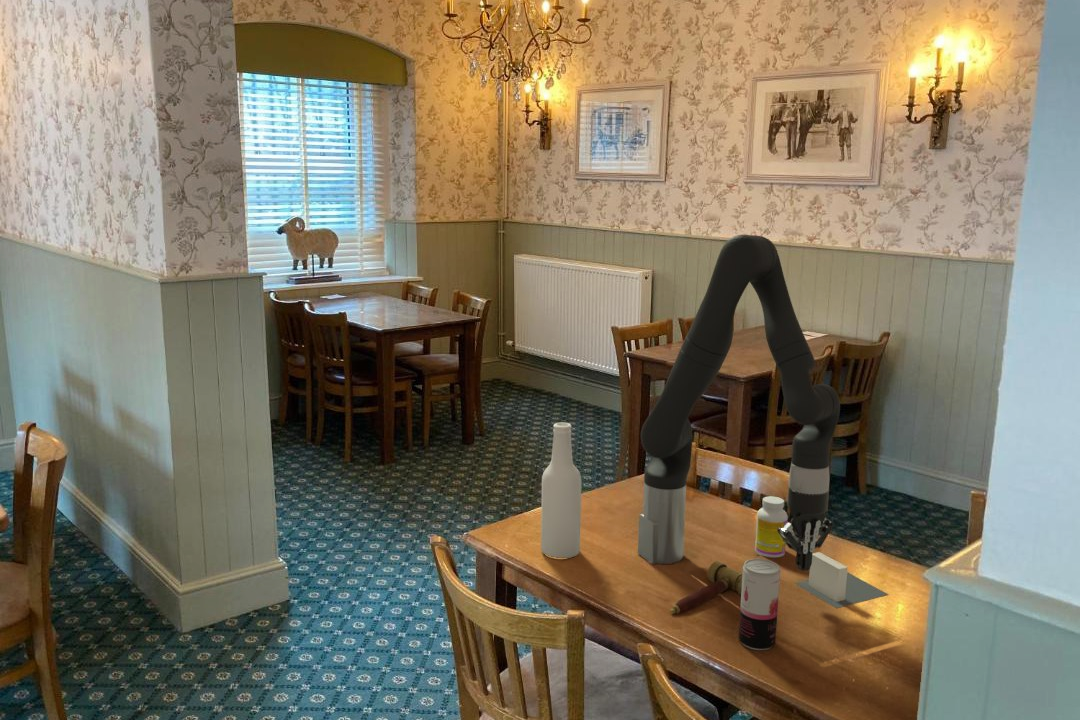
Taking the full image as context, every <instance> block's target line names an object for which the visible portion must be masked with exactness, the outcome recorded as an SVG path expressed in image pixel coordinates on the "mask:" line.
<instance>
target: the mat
mask: <svg viewBox="0 0 1080 720" xmlns="http://www.w3.org/2000/svg"><path fill="white" fill-rule="evenodd" d="M794 584H795V585H797V586H798V587H800V588H802V590H805V591H806V592H809V593H810V594H811V595H814V596H815V597H816V598H818V599H820V600H822V601H823V602H825V603H826V604H829V605H830V606H832V607H834V608H835V609H839V608H840V609H841V608H844V607H846V606H851V605H855V604H858V603H862V602H866V601H871V600H874V599H878V598H881V597H885V596H889V595H890V594H889V593H887V592H885V591H883V590H881V589H880V588H877V586H874V585H872V584H871V583H868V582H866V581H865V580H863V579H861V578H859V577H858V576H855V575H853V574H851V573H850V572H848V571H847V580H846V591H845V600H842V601H838V602H836V601H834V600H832V599H831V598H829V597H827V596H826V595H824V594H822V593H820V592H819V591H817V590H815V589H814V588H812V587H810V586H809V585H808V584H809V579H807V580H802V581H799V582H798V581H797V582H795V583H794Z"/></svg>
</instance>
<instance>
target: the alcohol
mask: <svg viewBox="0 0 1080 720" xmlns="http://www.w3.org/2000/svg"><path fill="white" fill-rule="evenodd" d="M552 431H553V432H552V433H553V437H552V449H551V460H550V463H549V465H548V466H547V467H546V468H545V469H544V471H543V473H542V477H541V523H540V524H541V526H540V527H541V528H540V529H541V530H540V531H541V534H540V535H541V536H540V537H541V538H540V541H541V543H540V550H541V552H542V553H543V555H544V554H546V555H548V556H551V557H556V558H570V557H573V556H575V557H577V556H578V554H579V553H580V551H581V527H582V526H581V524H582V523H581V522H582V518H581V515H582V514H581V513H582V475H581V473H580V470H579V469H578V468H577V467H576V466H575V465H574V461H573V447H572V424H571V423H569V422H563V421H561V422H556V423H554V424H553V429H552Z"/></svg>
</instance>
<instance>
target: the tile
mask: <svg viewBox="0 0 1080 720" xmlns="http://www.w3.org/2000/svg"><path fill="white" fill-rule="evenodd" d="M808 572H809V573H808V580H809V584H808V585H809V586H810V587H812V588H814V589H815V590H817V591H819V592H820V593H822V594H824V595H826V596H827V597H829V598H831V599H832V600H834V601H836V602H838V601H842V600H845V591H846V580H847V572H848V566H846V565H844V564H842V563H840V562H839V561H837V560H835V559H832V558H831V557H829V556H827V555H825V554H824V553H822V552H820V551H817V552H813V553H812V564H811V566H810V569H809V570H808Z"/></svg>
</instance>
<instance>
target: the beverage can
mask: <svg viewBox="0 0 1080 720" xmlns="http://www.w3.org/2000/svg"><path fill="white" fill-rule="evenodd" d="M780 568H781V567H780V565H779V564H778V563H777V562H774V561H773V560H770V559H766V558H750V559H748V560H745V561H744V563H743V566H742V574H743V575H742V591H741V594H740V596H741V597H740V607H739V608H740V610H739V623H738V625H739V626H738V640H739V642H740V643H741V644H742V645H743V646H744V647H746V648H747V649H751V650H755V651H767V650H770V649H771V648H772V647H774V646H775V645H776V641H777V640H776V637H777V625H778V623H777V622H778V611H779V599H780V598H779V594H780V584H781V583H780V582H781V570H780Z"/></svg>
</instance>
